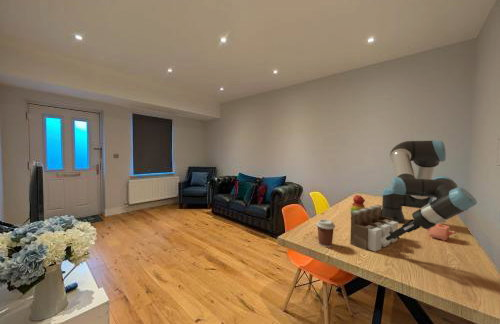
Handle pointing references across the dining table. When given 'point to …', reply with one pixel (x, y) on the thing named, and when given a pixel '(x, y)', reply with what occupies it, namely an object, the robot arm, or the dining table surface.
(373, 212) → the brown slotted rack
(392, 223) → the key one
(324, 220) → the coffee cup
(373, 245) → the key three
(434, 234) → the pink cube teapot
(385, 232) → the key two
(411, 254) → the dining table surface
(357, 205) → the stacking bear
